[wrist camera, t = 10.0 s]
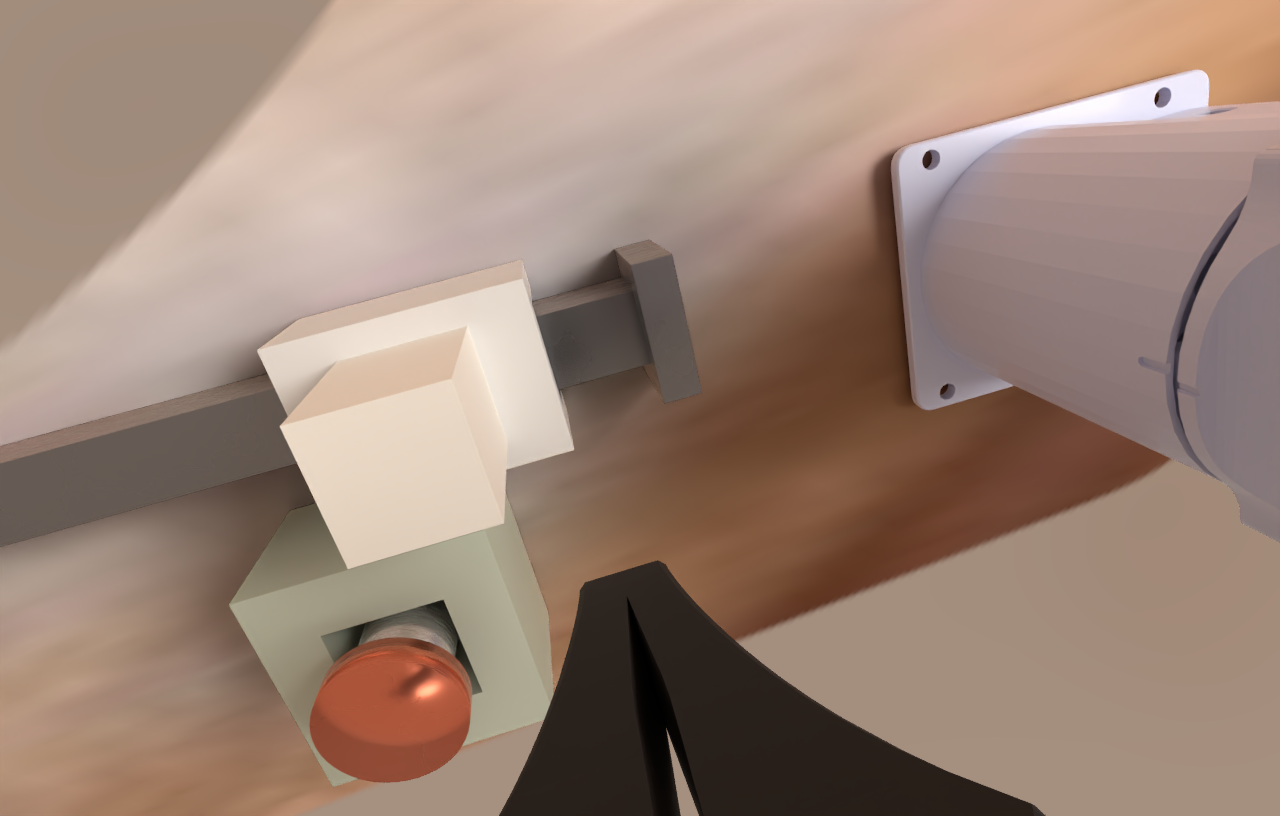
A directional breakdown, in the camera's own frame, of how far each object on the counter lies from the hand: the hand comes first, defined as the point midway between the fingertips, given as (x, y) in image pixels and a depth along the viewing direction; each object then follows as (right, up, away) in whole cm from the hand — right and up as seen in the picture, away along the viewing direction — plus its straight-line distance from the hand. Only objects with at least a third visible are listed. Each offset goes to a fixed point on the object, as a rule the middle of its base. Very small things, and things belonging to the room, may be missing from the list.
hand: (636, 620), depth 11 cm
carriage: (-6, +5, +8) cm, 11 cm away
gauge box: (-7, -1, +10) cm, 12 cm away
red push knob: (-6, -2, +9) cm, 11 cm away
